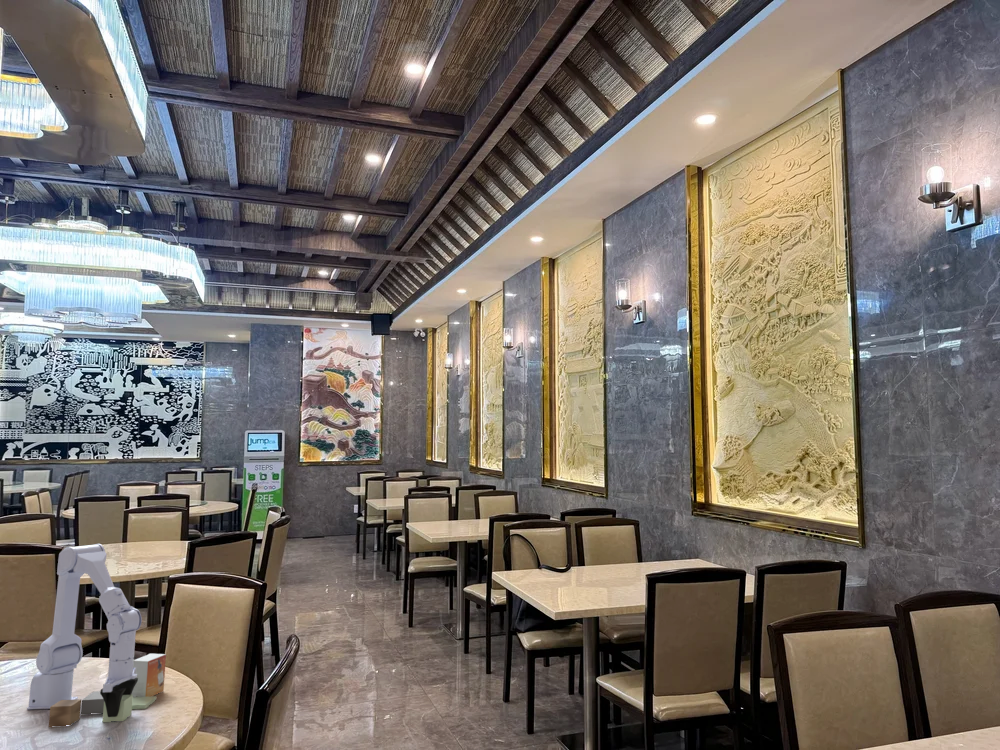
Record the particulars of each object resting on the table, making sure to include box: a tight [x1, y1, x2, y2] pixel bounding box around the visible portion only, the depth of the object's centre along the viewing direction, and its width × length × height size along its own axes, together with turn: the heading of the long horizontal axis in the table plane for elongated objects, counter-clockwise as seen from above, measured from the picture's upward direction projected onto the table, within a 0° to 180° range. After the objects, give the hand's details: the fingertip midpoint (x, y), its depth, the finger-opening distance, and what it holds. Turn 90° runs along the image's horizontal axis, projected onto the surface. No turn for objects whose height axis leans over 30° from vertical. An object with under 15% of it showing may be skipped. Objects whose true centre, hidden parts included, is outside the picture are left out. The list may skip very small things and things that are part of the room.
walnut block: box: [48, 698, 82, 728], centre depth 170 cm, size 5×5×5 cm
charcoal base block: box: [80, 690, 104, 715], centre depth 180 cm, size 7×7×4 cm
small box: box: [131, 653, 167, 697], centre depth 192 cm, size 8×6×10 cm
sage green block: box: [102, 695, 133, 723], centre depth 173 cm, size 5×5×5 cm
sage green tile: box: [132, 695, 157, 710], centre depth 183 cm, size 7×7×1 cm
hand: (117, 712), depth 173 cm, fingers closed on sage green block, 5 cm apart
